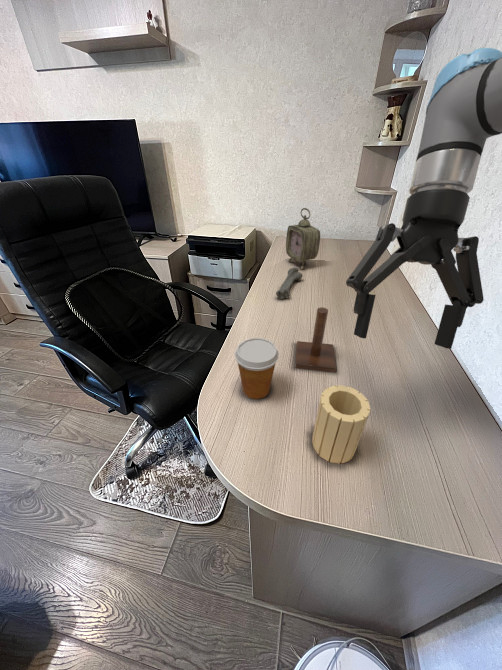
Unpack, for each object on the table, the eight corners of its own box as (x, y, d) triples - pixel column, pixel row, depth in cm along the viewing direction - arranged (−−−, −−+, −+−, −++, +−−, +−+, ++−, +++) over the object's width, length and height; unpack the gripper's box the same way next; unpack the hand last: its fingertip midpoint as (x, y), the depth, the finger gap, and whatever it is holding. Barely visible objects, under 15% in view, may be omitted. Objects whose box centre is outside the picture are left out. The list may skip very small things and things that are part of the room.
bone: (288, 277, 120) (288, 264, 116) (302, 279, 118) (304, 265, 114) (272, 299, 103) (273, 284, 100) (289, 302, 101) (291, 287, 98)
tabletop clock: (284, 261, 136) (288, 206, 121) (300, 258, 139) (305, 204, 124) (301, 271, 125) (307, 212, 110) (317, 268, 128) (325, 210, 114)
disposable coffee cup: (266, 371, 71) (267, 332, 64) (283, 397, 64) (286, 357, 57) (231, 381, 68) (228, 341, 61) (244, 409, 61) (243, 368, 54)
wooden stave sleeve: (357, 466, 50) (374, 424, 43) (312, 459, 51) (322, 418, 44) (351, 429, 57) (365, 388, 50) (312, 424, 58) (320, 382, 51)
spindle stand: (335, 372, 71) (346, 322, 62) (295, 368, 72) (301, 319, 63) (332, 348, 79) (341, 301, 70) (296, 345, 80) (302, 298, 71)
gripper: (495, 214, 43) (457, 344, 48) (342, 189, 42) (316, 327, 46) (547, 202, 36) (497, 357, 40) (364, 171, 34) (332, 337, 38)
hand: (401, 341), depth 43 cm, fingers open, 13 cm apart
